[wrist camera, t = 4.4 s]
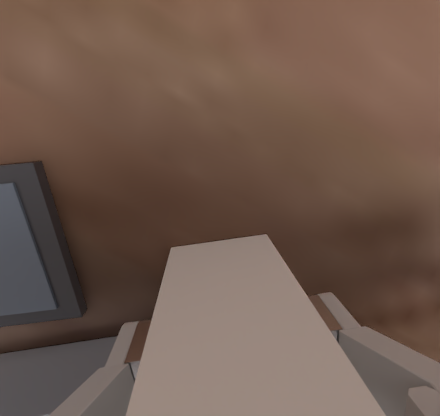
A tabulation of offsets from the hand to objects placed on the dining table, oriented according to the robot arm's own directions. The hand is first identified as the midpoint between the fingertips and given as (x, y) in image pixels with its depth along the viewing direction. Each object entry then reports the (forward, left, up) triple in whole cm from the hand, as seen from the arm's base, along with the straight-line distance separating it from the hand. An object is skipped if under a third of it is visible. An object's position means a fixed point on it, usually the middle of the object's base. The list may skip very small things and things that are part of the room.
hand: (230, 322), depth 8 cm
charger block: (0, 0, -2) cm, 2 cm away
